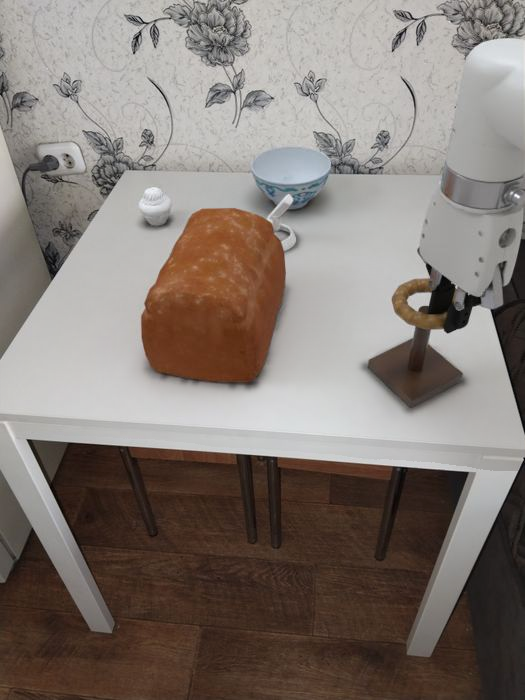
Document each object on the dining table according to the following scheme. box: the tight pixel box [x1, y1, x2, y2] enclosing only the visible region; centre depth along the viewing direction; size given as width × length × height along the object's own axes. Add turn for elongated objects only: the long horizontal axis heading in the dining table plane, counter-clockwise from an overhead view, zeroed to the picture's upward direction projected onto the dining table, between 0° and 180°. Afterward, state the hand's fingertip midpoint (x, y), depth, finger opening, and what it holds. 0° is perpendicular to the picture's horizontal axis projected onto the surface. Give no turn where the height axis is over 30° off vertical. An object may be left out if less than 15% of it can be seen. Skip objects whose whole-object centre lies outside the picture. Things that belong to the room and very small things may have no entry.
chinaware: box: [250, 145, 332, 210], centre depth 113 cm, size 15×15×8 cm
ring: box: [391, 277, 457, 331], centre depth 73 cm, size 9×9×2 cm
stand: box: [367, 305, 464, 409], centre depth 78 cm, size 9×9×12 cm
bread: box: [140, 207, 287, 383], centre depth 85 cm, size 17×24×15 cm
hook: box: [266, 194, 297, 252], centre depth 103 cm, size 8×12×7 cm
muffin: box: [137, 186, 173, 227], centre depth 110 cm, size 6×6×7 cm
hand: (446, 320), depth 71 cm, fingers closed on ring, 2 cm apart
